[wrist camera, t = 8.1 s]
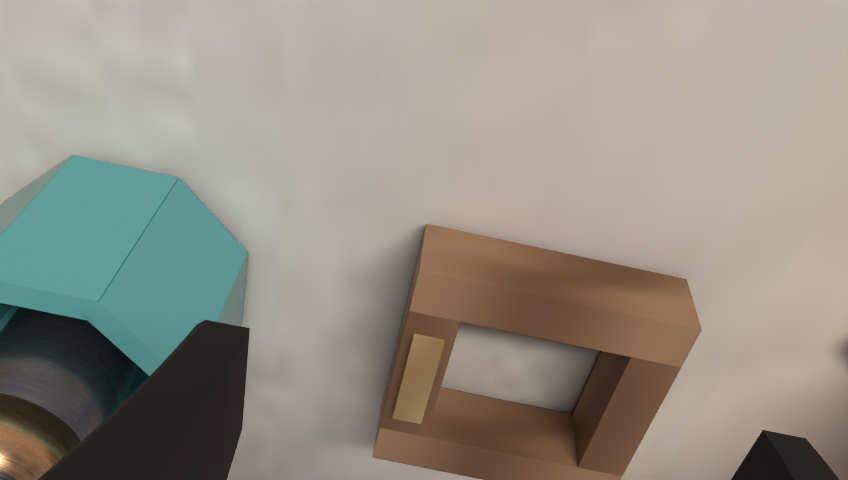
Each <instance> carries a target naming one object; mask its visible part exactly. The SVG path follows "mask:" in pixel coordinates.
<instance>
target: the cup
mask: <svg viewBox="0 0 848 480" xmlns="http://www.w3.org/2000/svg"><path fill="white" fill-rule="evenodd" d="M247 258H248V253H247V251H246V250H245V248H244V247H243V246H242V245H241V244H240V243H239V242H238V241H237V240H236V239H235V238H234V237H233V236H232V234H231V233H230V232H229V231H228V230H227V229H226V228H225V227H224V226H223V225H222V224H221V223H220V221H219V220H218V219H217V218H216V217H215V216H214V215H213V214H212V213H211V212H210V211H209V210H208V209H207V207H206V206H205V205H204V204H203V203H202V202H201V201H200V200H199V199H198V198H197V197H196V196H195V194H194V193H193V192H192V191H191V190H190V189H189V188H188V187H187V186H186V185H185V184H184V183H183V181H182V180H181V179H180V178H179V179H178V177H174V176H169V175H164V174H160V173H155V172H150V171H146V170H141V169H136V168H132V167H127V166H122V165H118V164H113V163H108V162H103V161H99V160H94V159H89V158H85V157H80V156H75V155H73V156H72V155H71V156H70V157H69V158H67V159H66V160H64V161H63V162H61V163H60V164H58V165H57V166H55V167H54V168H52V169H51V170H49V171H48V172H47V173H45V174H44V175H42V176H41V177H39V178H38V179H36V180H35V181H33V182H32V183H30V184H29V185H27V186H26V187H24V188H23V189H22V190H20V191H19V192H17V193H16V194H14V195H13V196H11V197H10V198H8V199H7V200H5V201H4V202H3V203H2V204H1V205H0V331H1V330H2V329H3V327H4V326H5V325H6V323H7V322H8V321H9V320H10V318H11V317H12V316H13V314H14V313H15V312H16V310H17V309H18V308H19V307H24V308H29V309H33V310H38V311H43V312H48V313H53V314H58V315H63V316H68V317H73V318H78V319H83V320H88V321H89V322H90V323H91V324H92V325H93V326H94V327H95V328H97V329H98V330H99V331H100V332H101V333H102V334H103V335H104V336H105V337H107V338H108V339H109V340H110V341H111V342H112V343H113V344H114V345H115V346H117V347H118V348H119V349H120V350H121V351H122V352H123V353H124V354H125V355H127V356H128V357H129V358H130V359H131V360H132V361H133V362H134V363H135V364H136V365H138V366H139V367H140V369H139V370H138V372H137V374H136V376H135V378H134V380H133V382H132V384H131V386H130V388H129V389H128V391H127V393H126V395H125V397H124V399H123V401H122V403H123V402H124V401H125V400H126V399H127V398H128V397H129V396H130V395H131V394H132V393H133V392H135V391H136V390H137V389H138V388H139V387H140V385H141V384H142V383H143V382H144V381H145V380H146V379H147V378H148V377H149V376H150V375H151V374H152V373H153V372H154V371H155V370H156V369H157V368H158V367H159V366H160V365H161V364H162V363H163V362H164V361H165V360H166V359H167V357H168V356H169V355H170V354H171V353H172V352H173V351H174V350H175V349H176V348H177V346H178V345H179V344H180V343H181V342H182V341H183V340H184V339H185V338H186V336H187V335H188V334H189V333H190V332H191V331H192V329H193V328H194V327H195V326H196V325H197V324H198V323H200V322H202V321H204V320H210V321H215V322H220V323H225V324H230V325H235V326H240V327H241V325H242V314H243V303H244V292H245V280H246V269H247ZM122 403H121V404H122Z"/></svg>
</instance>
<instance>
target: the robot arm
mask: <svg viewBox="0 0 848 480" xmlns="http://www.w3.org/2000/svg"><path fill="white" fill-rule="evenodd" d="M249 329H250V328H245V327H240V326H235V325H230V324H225V323H220V322H215V321H210V320H204V321H202V322H200V323H198V324H197V325H196V326H195V327H194V328H193V329H192V331H191V332H190V333H189V334H188V335H187V336H186V338H185V339H184V340H183V341H182V342H181V343H180V344H179V345H178V346H177V348H176V349H175V350H174V351H173V352H172V353H171V354H170V355H169V356H168V357H167V359H166V360H165V361H164V362H163V363H162V364H161V365H160V366H159V367H158V368H157V369H156V370H155V371H154V372H153V373H152V374H151V375H150V376H149V377H148V378H147V379H146V380H145V381H144V382H143V383H142V384H141V385H140V387H139V388H138V389H137V390H136V391H135V392H133V393H132V394H131V395H130V396H129V397H128V398H127V399H126V400H125V401H124V402H123V403H122V404H121V405H120V406H119V407H118V408H117V409H116V410H115V411H114V412H113V413H112V414H111V415H109V416H108V417H107V418H106V419H105V420H104V421H103V422H102V423H101V424H100V425H99V426H98V427H97V428H96V429H95V430H94V431H93V432H91V433H90V434H89V435H88V436H87V437H86V438H85V439H84V440H83V441H81V442H80V443H79V444H78V445H77V446H76V447H74V448H73V449H72V450H71V451H70V452H69V453H67V454H66V455H65V456H64V457H63V458H62V459H61V460H59V461H58V462H57V463H56V464H55V465H54V466H52V467H51V468H50V469H49V470H48V471H47V472H45V473H44V474H43V475H42V476H41V477H40V478H39V479H37V480H227V477H228V473H229V470H230V467H231V464H232V460H233V457H234V454H235V450H236V447H237V444H238V440H239V437H240V434H241V430H242V421H243V408H244V395H245V382H246V369H247V356H248V343H249ZM731 480H839V479H838V477H837V476H836V475H835V474H834V472H833V471H832V470H831V469H830V467H829V466H828V465H827V464H826V462H825V461H824V460H823V459H822V457H821V456H820V455H819V454H818V453H817V451H816V450H815V449H814V448H813V447H812V445H811V444H810V443H809V442H808V441H807V440H806V439H805V438H800V437H795V436H790V435H785V434H780V433H775V432H770V431H765V430H763V431H762V432H761V434H760V436H759V437H758V439H757V440H756V442H755V443H754V445H753V446H752V448H751V450H750V451H749V453H748V454H747V456H746V457H745V459H744V461H743V462H742V464H741V465H740V467H739V468H738V470H737V471H736V473H735V475H734V476H733V478H732V479H731Z"/></svg>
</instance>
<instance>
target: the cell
mask: <svg viewBox="0 0 848 480" xmlns="http://www.w3.org/2000/svg"><path fill="white" fill-rule="evenodd" d="M139 369H140V367H139V366H138V365H136V364H135V363H134V362H133V361H132V360H131V359H130V358H129V357H128V356H127V355H125V354H124V353H123V352H122V351H121V350H120V349H119V348H118V347H117V346H115V345H114V344H113V343H112V342H111V341H110V340H109V339H108V338H107V337H105V336H104V335H103V334H102V333H101V332H100V331H99V330H98V329H97V328H95V327H94V326H93V325H92V324H91V323H90V322H89V321H88V320H83V319H78V318H73V317H68V316H63V315H58V314H53V313H48V312H43V311H38V310H33V309H29V308H24V307H19V308H18V309H17V310H16V312H15V313H14V314H13V316H12V317H11V318H10V320H9V321H8V322H7V323H6V325H5V326H4V327H3V329H2V330H1V331H0V480H37V479H39V478H40V477H41V476H42V475H43V474H44V473H45V472H47V471H48V470H49V469H50V468H51V467H52V466H54V465H55V464H56V463H57V462H58V461H59V460H61V459H62V458H63V457H64V456H65V455H66V454H67V453H69V452H70V451H71V450H72V449H73V448H74V447H76V446H77V445H78V444H79V443H80V442H81V441H83V440H84V439H85V438H86V437H87V436H88V435H89V434H90V433H91V432H93V431H94V430H95V429H96V428H97V427H98V426H99V425H100V424H101V423H102V422H103V421H104V420H105V419H106V418H107V417H108V416H109V415H111V414H112V413H113V412H114V411H115V410H116V409H117V408H118V407H119V406H120V405H121V403H122V401H123V399H124V397H125V395H126V393H127V391H128V389H129V388H130V386H131V384H132V382H133V380H134V378H135V376H136V374H137V372H138V370H139Z"/></svg>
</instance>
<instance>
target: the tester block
mask: <svg viewBox="0 0 848 480" xmlns="http://www.w3.org/2000/svg"><path fill="white" fill-rule="evenodd" d="M460 322H465V323H470V324H475V325H479V326H484V327H489V328H494V329H499V330H503V331H508V332H513V333H518V334H523V335H527V336H532V337H537V338H542V339H547V340H551V341H556V342H561V343H566V344H571V345H575V346H580V347H585V348H590V349H595V350H599V351H601V353H600V355H599V358H598V360H597V362H596V364H595V366H594V369H593V371H592V373H591V375H590V377H589V380H588V382H587V384H586V386H585V388H584V391H583V393H582V395H581V397H580V400H579V402H578V404H577V406H576V408H575V411H574V413H573V414H568V413H563V412H558V411H553V410H548V409H544V408H539V407H534V406H529V405H524V404H519V403H514V402H509V401H504V400H499V399H494V398H490V397H485V396H480V395H475V394H470V393H465V392H460V391H455V390H450V389H445V388H441V384H442V381H443V378H444V374H445V371H446V368H447V364H448V361H449V358H450V355H451V351H452V348H453V345H454V341H455V338H456V335H457V331H458V328H459V325H460ZM700 332H701V326H700V323H699V320H698V316H697V313H696V310H695V306H694V303H693V300H692V296H691V293H690V290H689V286H688V283H687V280H686V279H682V278H678V277H673V276H668V275H664V274H659V273H654V272H650V271H645V270H640V269H636V268H631V267H626V266H622V265H617V264H612V263H607V262H603V261H598V260H593V259H589V258H584V257H579V256H575V255H570V254H565V253H561V252H556V251H551V250H547V249H542V248H537V247H533V246H528V245H523V244H519V243H514V242H509V241H504V240H500V239H495V238H490V237H486V236H481V235H476V234H472V233H467V232H462V231H458V230H453V229H448V228H444V227H439V226H434V225H430V224H426V227H425V231H424V235H423V239H422V243H421V247H420V251H419V255H418V259H417V263H416V267H415V271H414V275H413V279H412V283H411V287H410V291H409V296H408V300H407V304H406V308H405V312H404V316H403V320H402V324H401V328H400V332H399V336H398V340H397V344H396V348H395V352H394V356H393V360H392V365H391V369H390V373H389V377H388V381H387V385H386V389H385V393H384V397H383V401H382V405H381V411H380V416H379V422H378V428H377V434H376V440H375V446H374V452H373V458H378V459H383V460H388V461H393V462H398V463H403V464H408V465H413V466H418V467H423V468H428V469H433V470H438V471H443V472H448V473H453V474H458V475H463V476H468V477H473V478H478V479H483V480H620V479H621V477H622V475H623V474H624V472H625V470H626V468H627V466H628V464H629V463H630V461H631V459H632V457H633V455H634V453H635V452H636V450H637V448H638V446H639V444H640V442H641V441H642V439H643V437H644V435H645V433H646V431H647V429H648V428H649V426H650V424H651V422H652V420H653V418H654V417H655V415H656V413H657V411H658V409H659V407H660V406H661V404H662V402H663V400H664V398H665V396H666V394H667V393H668V391H669V389H670V387H671V385H672V383H673V382H674V380H675V378H676V376H677V374H678V372H679V371H680V369H681V367H682V365H683V363H684V361H685V360H686V358H687V356H688V354H689V352H690V350H691V348H692V347H693V345H694V343H695V341H696V339H697V337H698V336H699V334H700Z"/></svg>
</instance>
